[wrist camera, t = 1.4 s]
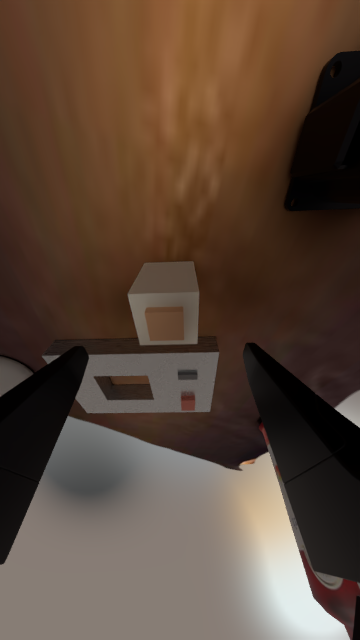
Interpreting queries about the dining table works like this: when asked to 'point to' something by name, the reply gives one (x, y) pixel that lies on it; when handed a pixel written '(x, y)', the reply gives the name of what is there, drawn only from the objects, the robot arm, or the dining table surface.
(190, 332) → the plug
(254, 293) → the dining table surface
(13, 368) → the milk bottle
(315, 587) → the liquor
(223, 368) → the dining table surface
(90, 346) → the switch plate
